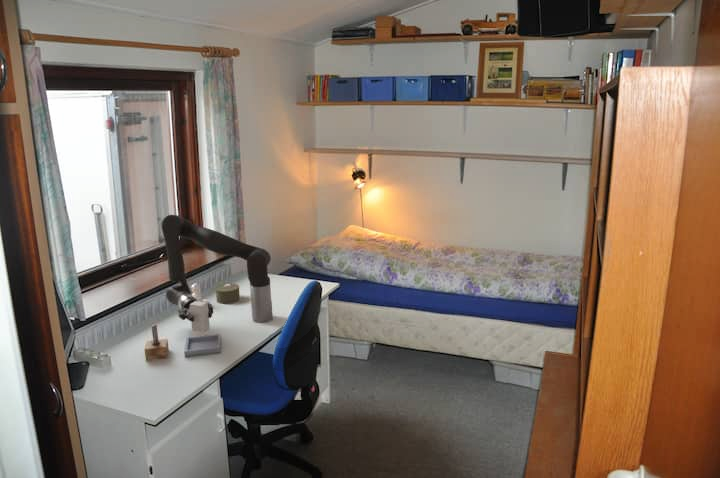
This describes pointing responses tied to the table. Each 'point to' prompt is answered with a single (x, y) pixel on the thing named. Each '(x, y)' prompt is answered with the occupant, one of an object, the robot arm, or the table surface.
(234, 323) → the table surface
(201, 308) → the skincare box
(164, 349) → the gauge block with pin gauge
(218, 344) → the tray
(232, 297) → the can
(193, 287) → the white creature statuette
